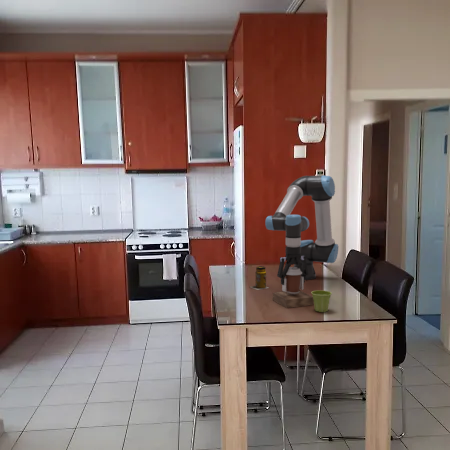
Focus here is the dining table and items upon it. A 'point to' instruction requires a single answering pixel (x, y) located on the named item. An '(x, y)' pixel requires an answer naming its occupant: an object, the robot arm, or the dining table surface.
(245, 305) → the dining table surface
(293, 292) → the coffee cup
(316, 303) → the plant pot
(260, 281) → the condiment
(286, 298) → the base slab
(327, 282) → the dining table surface
